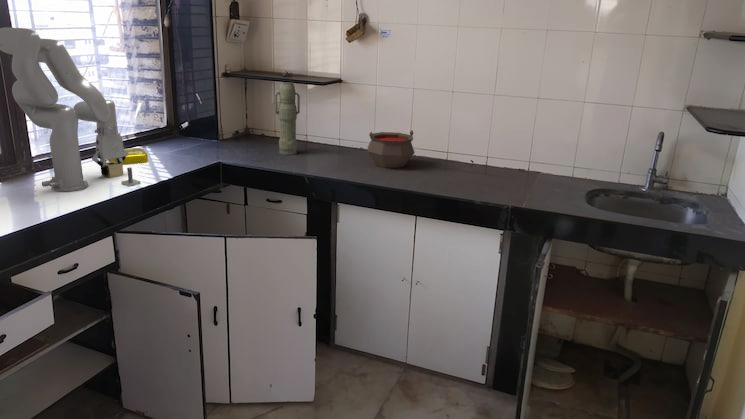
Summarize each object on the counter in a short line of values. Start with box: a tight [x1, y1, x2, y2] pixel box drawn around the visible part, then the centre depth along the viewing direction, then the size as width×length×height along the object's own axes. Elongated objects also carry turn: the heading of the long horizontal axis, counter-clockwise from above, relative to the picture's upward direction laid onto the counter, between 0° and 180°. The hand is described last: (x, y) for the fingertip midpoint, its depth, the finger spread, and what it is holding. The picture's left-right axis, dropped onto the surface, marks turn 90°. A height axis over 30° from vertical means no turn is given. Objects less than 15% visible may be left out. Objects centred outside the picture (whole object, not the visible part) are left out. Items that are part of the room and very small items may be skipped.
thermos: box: [274, 81, 301, 156], centre depth 278 cm, size 9×12×35 cm
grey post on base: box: [121, 167, 141, 187], centre depth 222 cm, size 5×5×6 cm
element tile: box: [108, 147, 149, 166], centre depth 257 cm, size 15×15×5 cm
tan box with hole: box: [101, 161, 124, 179], centre depth 233 cm, size 6×6×5 cm
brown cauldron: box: [367, 129, 416, 169], centre depth 267 cm, size 24×24×16 cm
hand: (112, 173), depth 233 cm, fingers closed on tan box with hole, 6 cm apart
